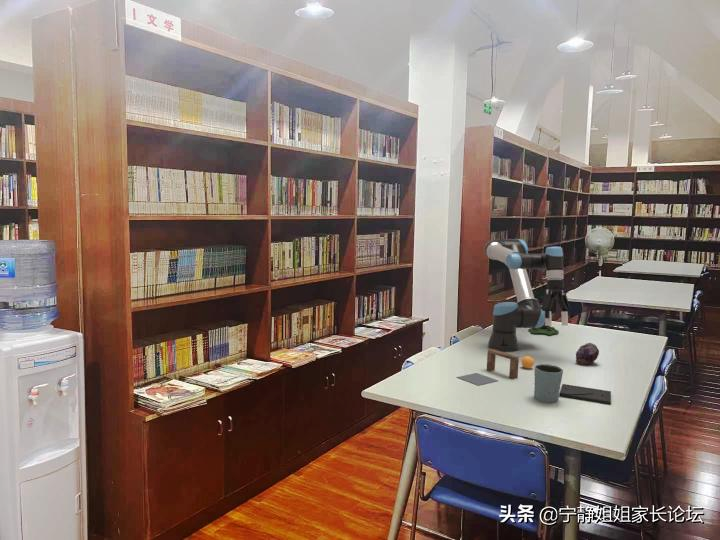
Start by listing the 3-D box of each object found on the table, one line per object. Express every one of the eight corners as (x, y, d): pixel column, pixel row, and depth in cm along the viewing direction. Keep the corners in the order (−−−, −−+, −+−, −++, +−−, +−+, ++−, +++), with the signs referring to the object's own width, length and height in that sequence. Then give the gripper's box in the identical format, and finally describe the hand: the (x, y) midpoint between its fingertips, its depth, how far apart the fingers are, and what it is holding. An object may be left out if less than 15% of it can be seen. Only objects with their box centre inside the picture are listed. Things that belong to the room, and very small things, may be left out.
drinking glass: (540, 392, 208) (542, 362, 206) (565, 399, 201) (568, 368, 199) (527, 398, 201) (529, 367, 199) (553, 406, 193) (555, 373, 192)
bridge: (512, 379, 224) (514, 357, 223) (486, 370, 236) (487, 349, 235) (517, 377, 226) (519, 356, 225) (491, 369, 237) (492, 348, 236)
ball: (518, 367, 241) (519, 355, 240) (526, 365, 244) (526, 353, 244) (528, 370, 237) (529, 358, 236) (536, 368, 240) (537, 356, 239)
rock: (571, 366, 250) (595, 370, 244) (571, 348, 248) (595, 351, 242) (579, 357, 260) (602, 360, 253) (579, 339, 258) (603, 343, 251)
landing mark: (456, 377, 224) (456, 377, 224) (476, 373, 230) (476, 372, 230) (478, 385, 214) (478, 385, 214) (498, 381, 221) (498, 380, 221)
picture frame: (559, 398, 204) (610, 406, 196) (559, 392, 204) (610, 400, 196) (562, 388, 216) (610, 396, 208) (562, 383, 216) (611, 390, 208)
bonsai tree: (517, 325, 333) (520, 274, 330) (559, 329, 324) (563, 277, 320) (510, 336, 301) (514, 281, 298) (556, 341, 292) (560, 284, 288)
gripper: (547, 278, 239) (548, 325, 237) (577, 280, 255) (578, 325, 253) (532, 279, 245) (534, 325, 243) (562, 281, 261) (564, 325, 259)
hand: (556, 325), depth 248 cm, fingers open, 13 cm apart
